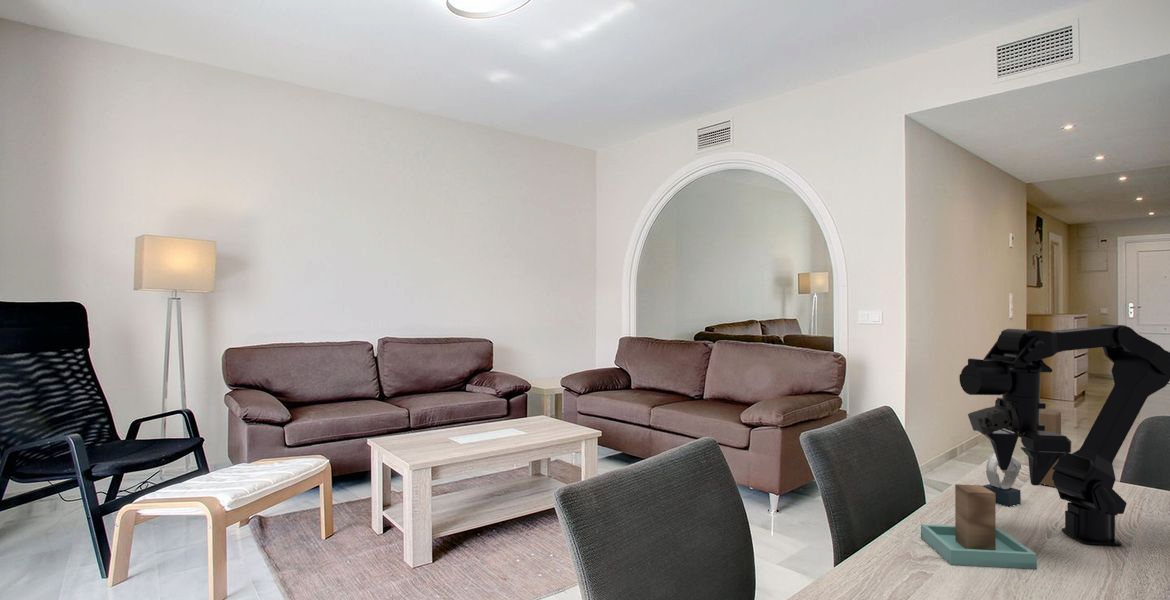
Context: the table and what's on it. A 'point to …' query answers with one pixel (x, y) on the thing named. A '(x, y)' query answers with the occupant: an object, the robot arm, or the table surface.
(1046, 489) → the table surface
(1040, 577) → the table surface
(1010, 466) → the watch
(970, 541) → the tall brown wood pillar
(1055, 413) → the wooden block
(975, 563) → the tray
